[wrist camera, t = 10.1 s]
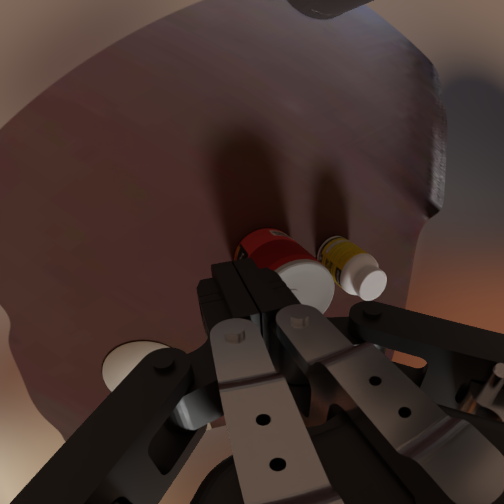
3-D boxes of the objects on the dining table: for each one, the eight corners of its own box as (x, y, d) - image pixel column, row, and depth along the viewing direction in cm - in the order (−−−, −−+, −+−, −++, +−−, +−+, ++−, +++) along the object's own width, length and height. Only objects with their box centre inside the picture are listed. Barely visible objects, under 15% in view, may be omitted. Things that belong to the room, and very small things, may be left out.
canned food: (222, 242, 38) (248, 285, 28) (282, 215, 39) (326, 247, 29) (244, 292, 41) (273, 343, 32) (299, 266, 42) (341, 308, 33)
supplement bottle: (309, 250, 42) (348, 283, 33) (341, 227, 42) (385, 254, 33) (324, 278, 44) (362, 314, 36) (354, 256, 45) (396, 287, 36)
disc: (89, 349, 38) (88, 350, 38) (178, 332, 41) (178, 333, 41) (120, 409, 43) (120, 410, 43) (197, 395, 46) (198, 396, 46)
